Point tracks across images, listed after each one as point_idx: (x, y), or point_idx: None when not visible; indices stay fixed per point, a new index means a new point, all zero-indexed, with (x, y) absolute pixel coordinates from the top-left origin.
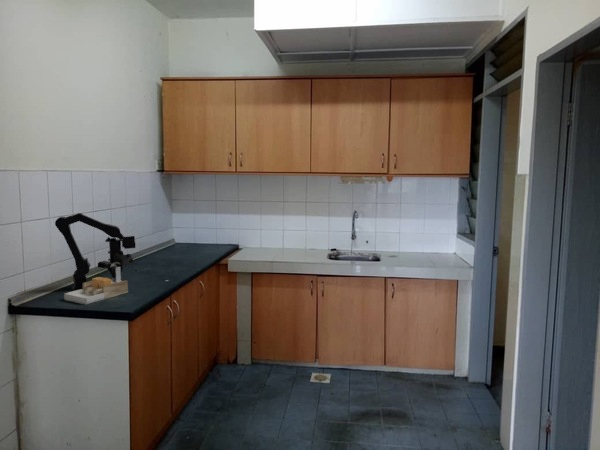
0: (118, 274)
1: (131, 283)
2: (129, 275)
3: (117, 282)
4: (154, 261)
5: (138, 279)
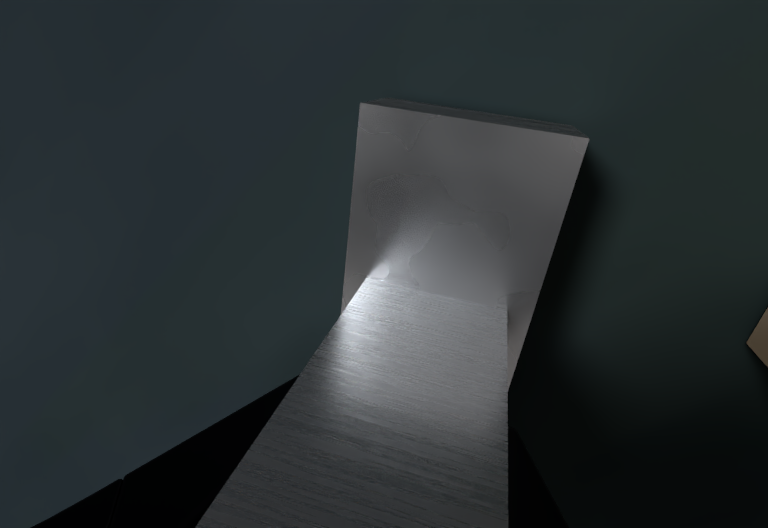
0: (384, 428)
1: (220, 116)
2: (6, 425)
3: (532, 260)
4: None
5: (6, 193)
